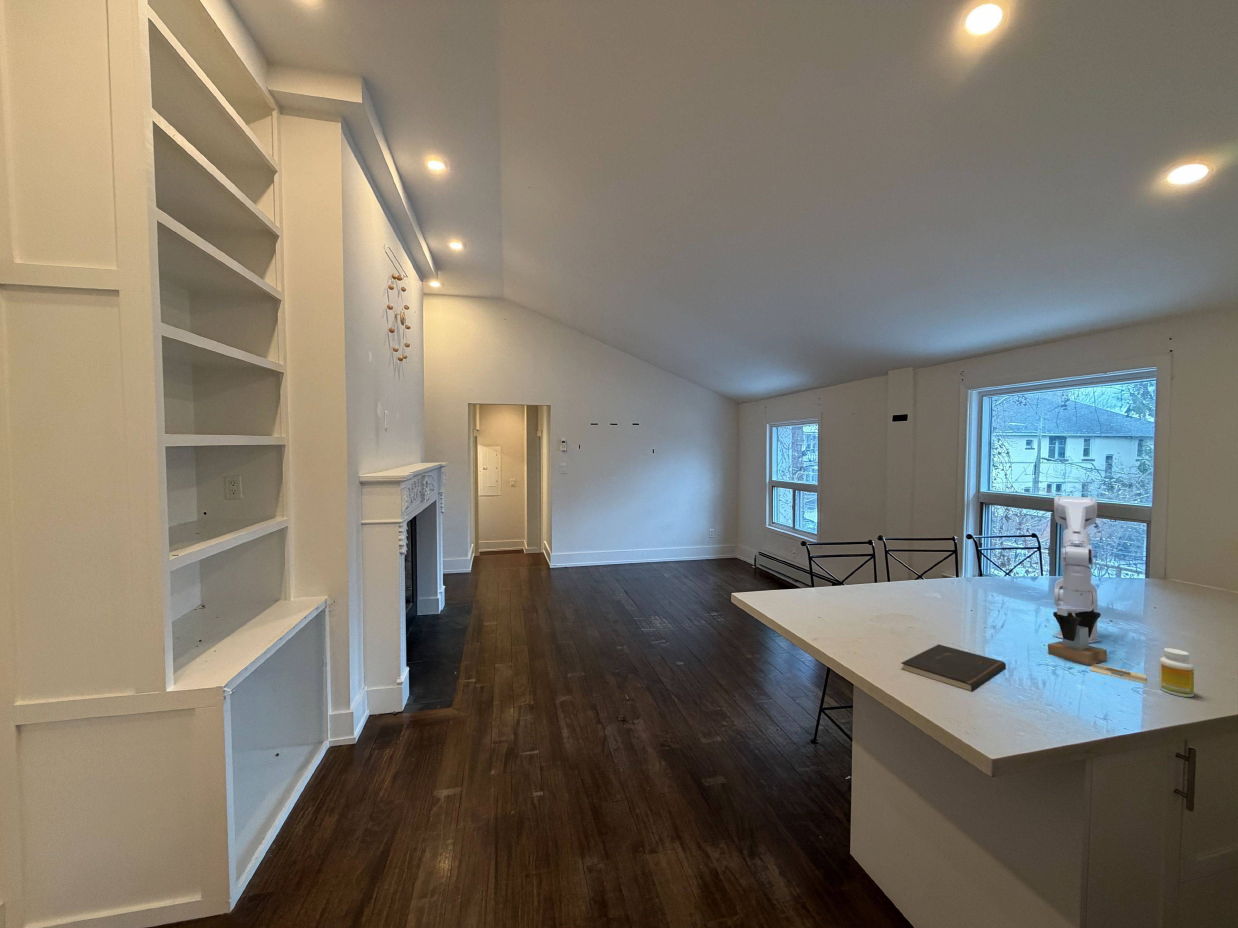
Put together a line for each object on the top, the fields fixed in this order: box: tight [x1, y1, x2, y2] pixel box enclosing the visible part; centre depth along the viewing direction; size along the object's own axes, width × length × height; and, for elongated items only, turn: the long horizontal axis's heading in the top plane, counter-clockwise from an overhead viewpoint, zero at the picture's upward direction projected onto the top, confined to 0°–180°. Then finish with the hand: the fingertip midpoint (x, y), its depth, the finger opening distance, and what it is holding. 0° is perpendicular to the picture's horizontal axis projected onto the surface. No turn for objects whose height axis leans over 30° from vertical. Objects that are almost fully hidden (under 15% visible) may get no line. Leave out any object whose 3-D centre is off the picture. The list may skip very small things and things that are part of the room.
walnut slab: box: [1047, 640, 1108, 666], centre depth 137 cm, size 9×9×3 cm
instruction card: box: [1089, 663, 1148, 685], centre depth 127 cm, size 7×10×1 cm
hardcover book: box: [900, 643, 1007, 692], centre depth 129 cm, size 16×23×2 cm
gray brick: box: [1062, 626, 1090, 650], centre depth 137 cm, size 4×4×6 cm
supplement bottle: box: [1158, 647, 1195, 698], centre depth 116 cm, size 5×5×10 cm
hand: (1076, 638), depth 137 cm, fingers open, 7 cm apart
